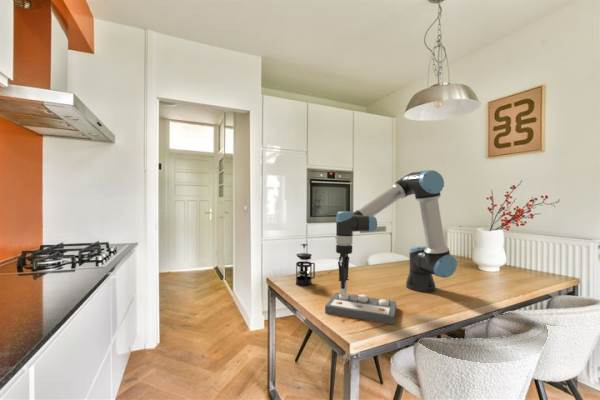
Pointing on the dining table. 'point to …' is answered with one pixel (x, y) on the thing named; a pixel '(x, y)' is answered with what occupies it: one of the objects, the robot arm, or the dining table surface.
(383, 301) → the button
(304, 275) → the french press
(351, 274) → the dining table surface
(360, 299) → the button middle
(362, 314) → the button board
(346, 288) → the robot arm
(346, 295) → the button
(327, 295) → the dining table surface
